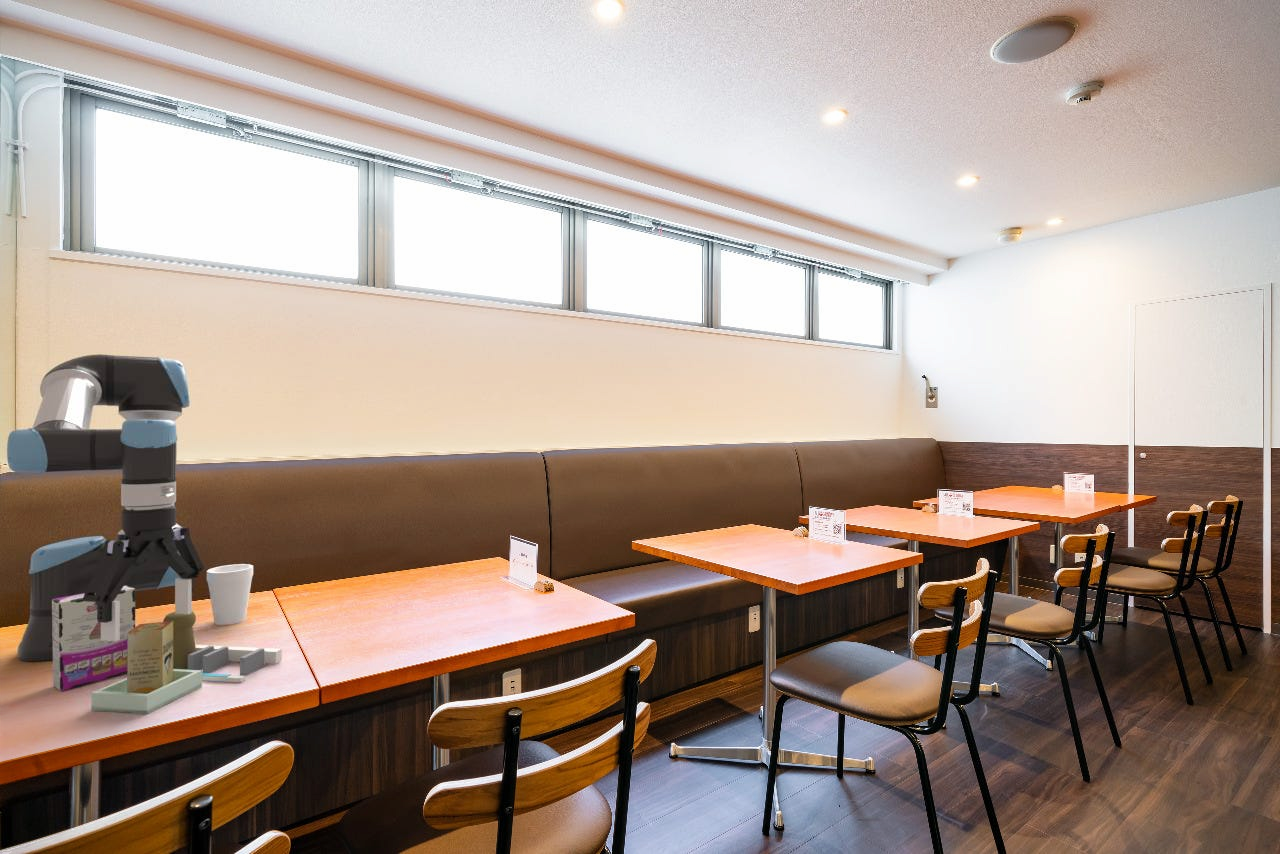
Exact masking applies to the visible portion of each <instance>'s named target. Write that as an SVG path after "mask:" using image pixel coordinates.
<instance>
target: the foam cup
mask: <svg viewBox="0 0 1280 854" xmlns="http://www.w3.org/2000/svg"><path fill="white" fill-rule="evenodd" d="M253 576H254V565H252V564H249V563H248V564H246V563H239V564H227V565H221V566H216V567H212V568H209V569H208V570H206V582H207V585H208V591H209V596H210V597H209V598H210V603H211V604H210V605H211V610H212V617H213V621H214V624H215V625H216V626H228V625H235V624H238V623H241V622H243V621H246V617H247V614H248V613H247V612H248V605H249V600H250V599H249V598H250V593H251V587H252V586H251V585H252V580H253Z"/></svg>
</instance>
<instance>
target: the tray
mask: <svg viewBox="0 0 1280 854" xmlns="http://www.w3.org/2000/svg"><path fill="white" fill-rule="evenodd" d="M202 673H203V670H202V669H200V670H183V669H173V682H172V683H170V684H168V685H165V686H163V687H161V688H159V689H157V690H155V691H153V692H150V693H148V694H141V693H127V677H125V678H123V679H120V680H119V681H116V682H114V683H112V684H110V685H109V684H108V685H107V686H104V687H102V688H100V689H97V690H95V691H93V692H91V696H90V697H91V701H90V702H91V704H90V705H91V711H92V712H93V711H94V712H108V713H109V712H110V713H120V714H121V713H122V714H123V713H124V714H136V715H138V714H140V715H148V714H151V713H153V712H155V711H157V710H158V709H161V708H162V707H163V708H164V706H167V705H168V704H170V703H172V702H174V701H177V700H178V699H180V698H182V697H185V696H187V695H188V694H190V693H192V692H194V691H196V690H199V689H201V688H203V686H202V684H203V680H202Z"/></svg>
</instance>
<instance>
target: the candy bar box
mask: <svg viewBox="0 0 1280 854" xmlns="http://www.w3.org/2000/svg"><path fill="white" fill-rule="evenodd" d="M84 594H85V593H83V594H78V595H72V596H67V597H62V598H56V599H52V636H53V660H52V682H53V683H52V685H53V687H54V688H55V689H57V691H59V692H66V691H69V690H73V689H77V688H80V687H83V686H87V685H90V684H91V685H92V684H94V683H97V682H101V681H105V680H109V679H112V678H116V677H118V676H119V677H120V676H122V675H125V674H127V633H128V632H129V631H131V630H132V629H133V628H135V627H136V591H135V588H132V587H129V586H123V588H122V589H121V591H120V592H119V594H118V595H117V597H116V598H115V600H116V601H120V640H117V641H104V640H101V622H98V620H97V603H96V602H87V601H84V600H83V597H84ZM107 595H108V594H107Z"/></svg>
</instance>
